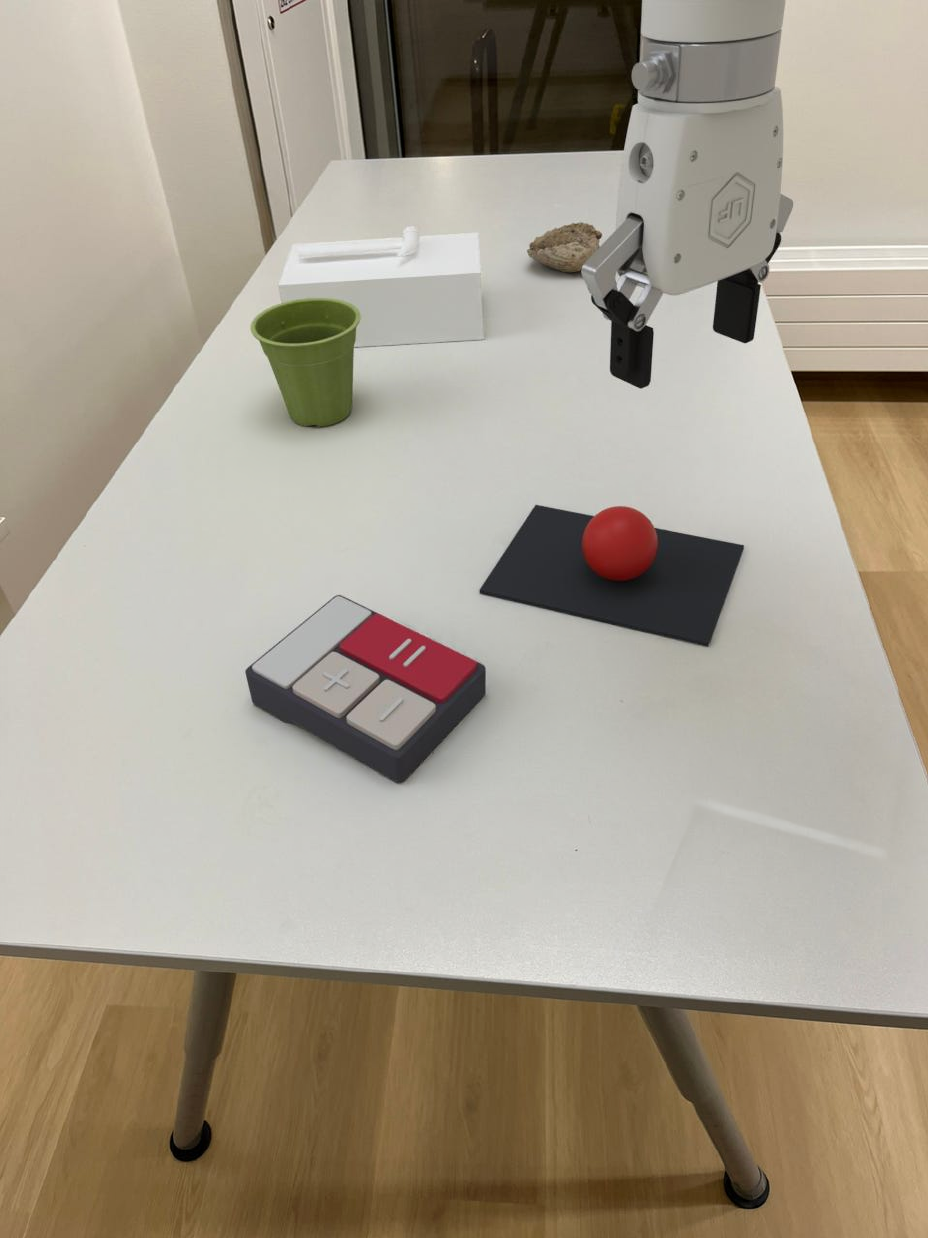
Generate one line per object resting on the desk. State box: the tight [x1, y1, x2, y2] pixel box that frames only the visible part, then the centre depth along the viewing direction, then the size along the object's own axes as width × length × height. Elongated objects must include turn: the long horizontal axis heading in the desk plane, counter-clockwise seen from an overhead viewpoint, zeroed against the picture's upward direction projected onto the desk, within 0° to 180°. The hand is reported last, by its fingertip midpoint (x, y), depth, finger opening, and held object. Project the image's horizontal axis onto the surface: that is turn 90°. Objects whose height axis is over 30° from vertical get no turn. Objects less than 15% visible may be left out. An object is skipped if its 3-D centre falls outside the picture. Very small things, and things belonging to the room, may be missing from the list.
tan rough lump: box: [526, 221, 603, 273], centre depth 138 cm, size 11×7×10 cm
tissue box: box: [277, 225, 485, 348], centre depth 124 cm, size 14×25×11 cm, turn 91°
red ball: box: [582, 505, 658, 581], centre depth 81 cm, size 6×6×6 cm
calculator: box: [244, 594, 487, 784], centre depth 73 cm, size 11×4×15 cm
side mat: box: [479, 504, 745, 647], centre depth 84 cm, size 20×14×1 cm
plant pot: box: [250, 298, 361, 427], centre depth 106 cm, size 12×12×11 cm
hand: (682, 357), depth 64 cm, fingers open, 9 cm apart
